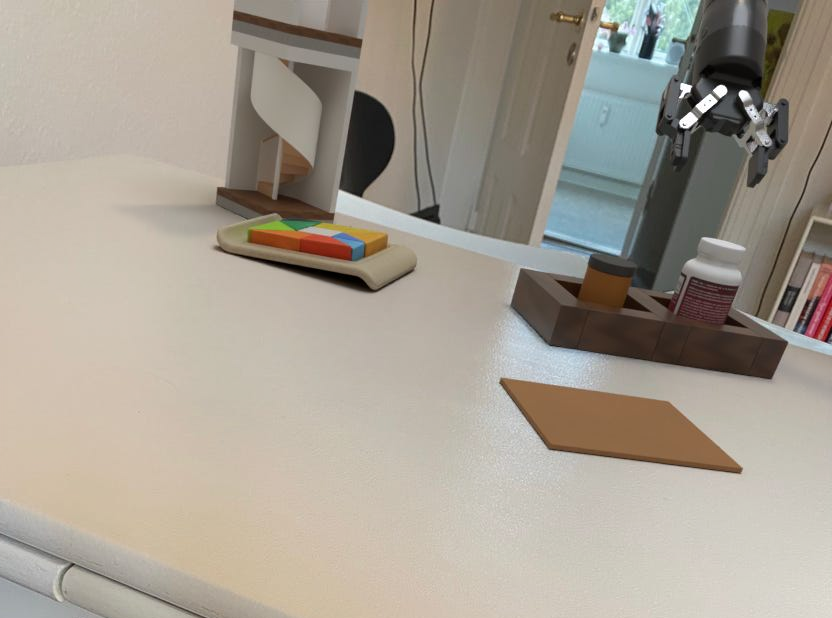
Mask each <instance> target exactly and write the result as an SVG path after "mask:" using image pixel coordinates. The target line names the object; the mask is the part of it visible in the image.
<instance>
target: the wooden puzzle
mask: <svg viewBox="0 0 832 618" xmlns="http://www.w3.org/2000/svg"><path fill="white" fill-rule="evenodd" d="M388 240H389V233H387V232H381V231H376V230H370V229H366V228H365V229H364V228H359V227H353V226H347V225H341V224H335V223H333V224H330V223H323V222H319V221H313V220H308V219H301V218H296V217H291V218H287V219H282V218H281V217H280V216H279V215H278V214H276V213H273V214H269V215H265V216H261V217H257V218H253V219H245V220H241V221H238V222H235V223H234V222H233V223H230V224H227V225H223V226H220V227H218V229H217V231H216V241H217V244H218V245H219V247H220V248H221V249H223V250H224V251H225V252H227V253H230V254H233V255H241V256H245V257H251V258H257V259H262V260H267V261H272V262H279V263H284V264H289V265H295V266H300V267H306V268H311V269H317V270H322V271H327V272H333V273H338V274H344V275H349V276H355V277H358V278H360V279H361V280H363V282H364V283H366V285H367V286H368V287H369V289H371V290H372V291H376V290H378V289H380V288H383V287H384V286H387V285H388V284H389V283H392V282H393V281H395V280H397V279H399V278H401V277H402V276H405V275H406V274H407V273H409V272H411V271H413V270H414V269H415V268H416V267H417V265H418V257H417V255H416V253H415V252H414V250H413V249H411V248H410V247H408V246H406V245H403V244H397V243H391V242H388Z"/></svg>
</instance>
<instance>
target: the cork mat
mask: <svg viewBox="0 0 832 618" xmlns="http://www.w3.org/2000/svg"><path fill="white" fill-rule="evenodd" d="M499 383H500V384H501V386H502V387H503V388H504V390H505V391H506V392H507V394H508V395H509V396H510V398H511V399H512V400H513V402H514V403H515V405H516V406H517V407H518V408H519V410H520V411H521V412H522V414H523V415H524V416H525V418H526V420H528V422H529V423H530V425H531V426H532V427H533V429H534V430H535V431H536V432H537V434H538V435H539V436H540V438H541V439H542V441H543V442H544V444H545V445H546V446H547V447H548V449H550V450H556V451H562V452H563V451H564V452H565V451H566V452H571V453H572V452H573V453H579V454H580V453H581V454H588V455H595V456H603V457H604V456H605V457H611V458H618V459H619V458H620V459H627V460H628V459H629V460H635V461H644V462H652V463H659V464H667V465H675V466H683V467H691V468H698V469H699V468H700V469H707V470H715V471H722V472H731V473H739V474H742V472H743V471H744V467H742V466H741V465H740V464H739V463H737V461H736V460H735V459H734V458H733V457H731V456H730V455H729V454H728V453H727V452H725V451H724V450H723V449H722V448H721V447H720V446H719V445H718V444H717V443H716V442H715V441H713V440H712V439H711V438H710V437H709V436H708V435H707V434H706V433H704V432H703V431H702V430H701V429H700V428H699V427H698V426H697V425H696V424H694V423H693V421H691V420H690V419H689V418H688V417H687V416H685V415H684V414H683V413H682V412H681V411H680V410H679V409H678V408H677V407H675V406H674V404H672V403H671V402H670V401H669V400H662V399H655V398H647V397H643V396H642V397H641V396H634V395H627V394H621V393H620V394H619V393H612V392H606V391H599V390H592V389H586V388H578V387H571V386H566V385H565V386H563V385H556V384H550V383H544V382H543V383H542V382H536V381H529V380H523V379H522V380H521V379H515V378H508V377H500V379H499Z"/></svg>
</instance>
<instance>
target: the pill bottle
mask: <svg viewBox="0 0 832 618" xmlns="http://www.w3.org/2000/svg"><path fill="white" fill-rule="evenodd" d="M746 250H747V249H746V247H744V246H742V245H739V244H738V243H733V242H731V241H727V240H723V239H718V238H714V237H707V236H706V237H705V236H703V237H701V238H700V240H699V242H698V246H697V248H696V252H697V256H696V257H694V258H691V259H688V260H687V261H686V262H685V263H684V264H683V266H682V269H681V271H680V274H679V276H678V279H677V280H678V281H677V283H676V286H675V288H674V291H673V293H672V294H673V296H672V299H671V302H670V304H669V307H668V310H670V311H671V312H672V313H674V314H675V315H677V316H678V317H681V318H687V319H693V320H699V321H705V322H711V323H717V324H723V325H724V323H725V320H726V318H727V315H728V313H729V311H730V308H731V307H732V305H733V303H734V300H735V298H736V296H737V293H738V290H739V288H740V286H741V283H742V278H743V277H742V274H741V272H740V270H739V269H738V265H739V264H740V263H741V262H742V261H743V259H744V256H745V254H746Z"/></svg>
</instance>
